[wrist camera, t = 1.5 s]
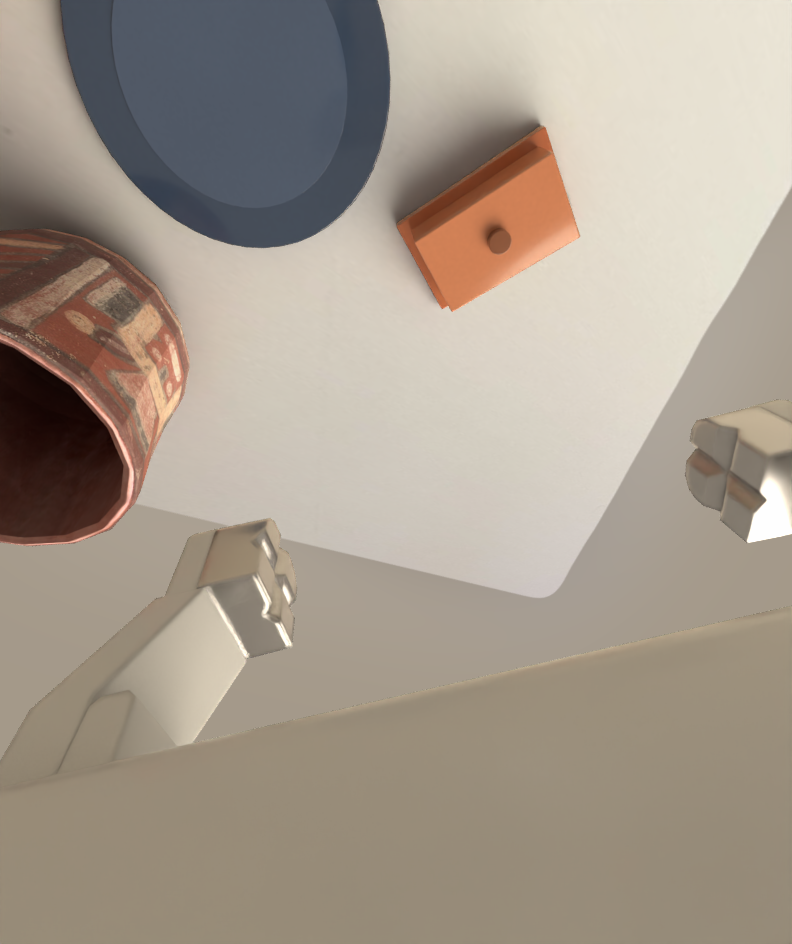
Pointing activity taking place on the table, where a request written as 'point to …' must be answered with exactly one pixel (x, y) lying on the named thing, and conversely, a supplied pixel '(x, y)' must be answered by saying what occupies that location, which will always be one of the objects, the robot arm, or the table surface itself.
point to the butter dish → (492, 222)
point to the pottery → (79, 385)
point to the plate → (237, 106)
